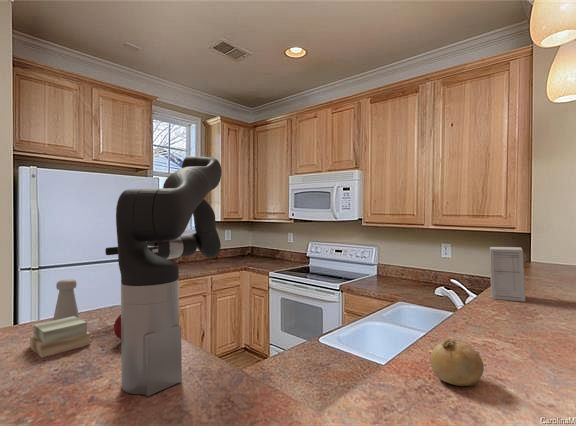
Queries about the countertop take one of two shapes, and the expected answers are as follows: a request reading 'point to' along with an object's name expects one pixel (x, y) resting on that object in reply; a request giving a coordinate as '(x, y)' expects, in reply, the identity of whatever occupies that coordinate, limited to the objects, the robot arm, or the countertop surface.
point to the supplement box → (507, 273)
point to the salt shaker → (66, 300)
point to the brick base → (59, 345)
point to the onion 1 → (118, 327)
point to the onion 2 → (456, 363)
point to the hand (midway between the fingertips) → (112, 252)
